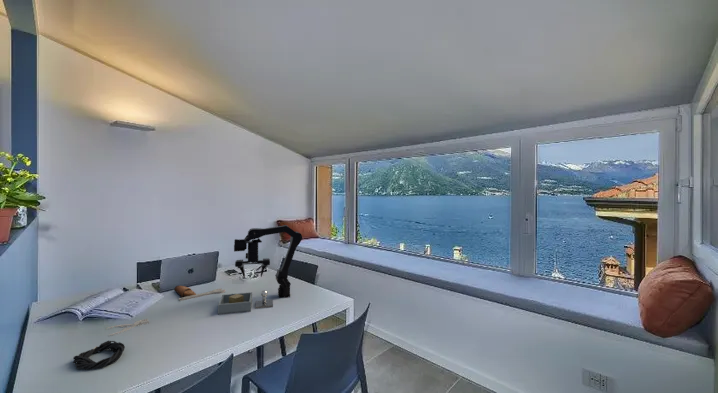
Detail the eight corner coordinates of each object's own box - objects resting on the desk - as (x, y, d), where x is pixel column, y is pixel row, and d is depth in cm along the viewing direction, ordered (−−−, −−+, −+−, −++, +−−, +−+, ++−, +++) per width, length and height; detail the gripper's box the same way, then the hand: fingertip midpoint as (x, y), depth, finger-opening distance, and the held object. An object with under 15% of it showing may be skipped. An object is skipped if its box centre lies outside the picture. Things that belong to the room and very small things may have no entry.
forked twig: (105, 326, 135) (146, 316, 145) (105, 329, 135) (146, 319, 145) (108, 333, 128) (150, 322, 138) (108, 337, 128) (150, 326, 138)
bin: (252, 301, 171) (252, 292, 171) (250, 311, 156) (250, 301, 156) (222, 303, 166) (222, 294, 166) (218, 314, 151) (218, 304, 151)
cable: (128, 362, 109) (128, 350, 109) (75, 379, 99) (75, 366, 99) (119, 345, 121) (119, 334, 121) (71, 358, 111) (71, 347, 111)
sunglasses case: (198, 295, 179) (192, 286, 177) (187, 303, 175) (180, 295, 172) (189, 288, 192) (183, 280, 189) (178, 296, 187) (172, 288, 185)
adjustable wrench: (179, 302, 169) (179, 299, 169) (177, 299, 174) (177, 296, 174) (225, 292, 185) (225, 290, 185) (222, 290, 190) (222, 287, 190)
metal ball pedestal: (272, 301, 171) (272, 287, 171) (272, 307, 162) (273, 292, 162) (256, 302, 168) (256, 288, 168) (255, 308, 160) (255, 293, 159)
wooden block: (236, 303, 164) (237, 293, 164) (243, 305, 162) (243, 295, 162) (228, 307, 160) (228, 296, 160) (235, 308, 157) (235, 298, 157)
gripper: (269, 247, 183) (269, 272, 183) (237, 248, 177) (236, 274, 178) (269, 250, 172) (269, 277, 172) (235, 252, 167) (234, 280, 167)
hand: (252, 277), depth 173 cm, fingers open, 9 cm apart
